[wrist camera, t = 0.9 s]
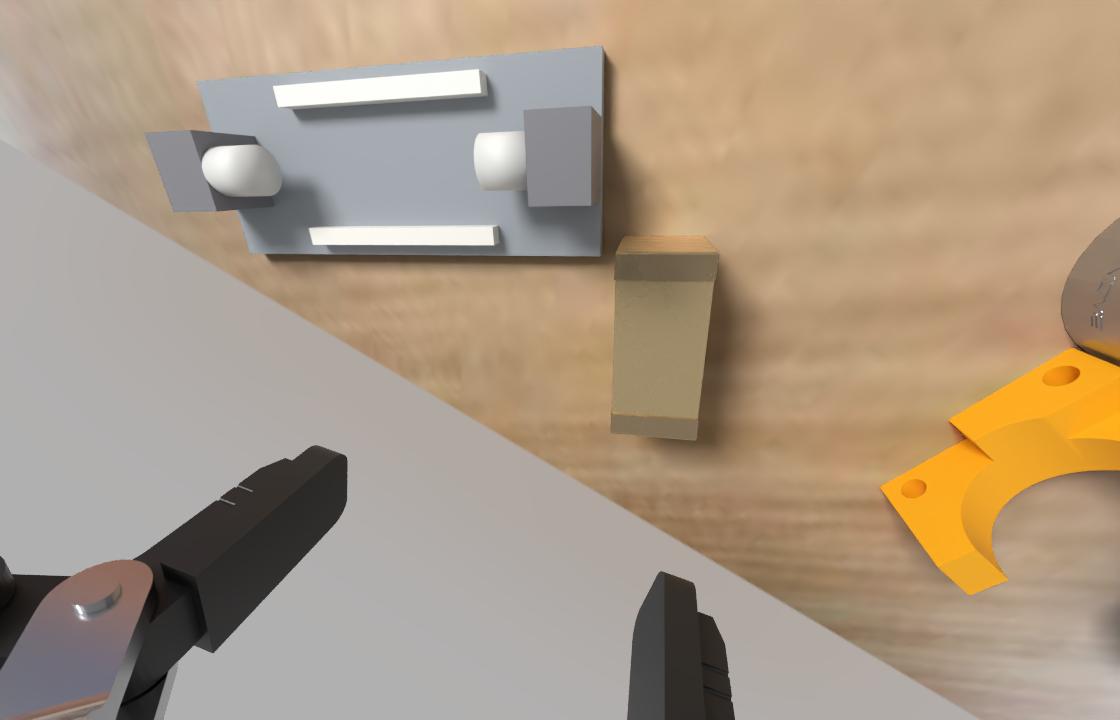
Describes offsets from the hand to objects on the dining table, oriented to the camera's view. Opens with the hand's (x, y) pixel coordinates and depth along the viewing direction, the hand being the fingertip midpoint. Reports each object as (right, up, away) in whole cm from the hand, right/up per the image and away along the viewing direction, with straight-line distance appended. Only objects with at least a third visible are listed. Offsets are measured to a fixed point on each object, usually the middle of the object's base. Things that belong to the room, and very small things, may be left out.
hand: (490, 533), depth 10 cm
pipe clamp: (+27, 0, +15) cm, 31 cm away
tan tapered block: (+8, +7, +16) cm, 19 cm away
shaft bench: (-8, +16, +15) cm, 23 cm away
